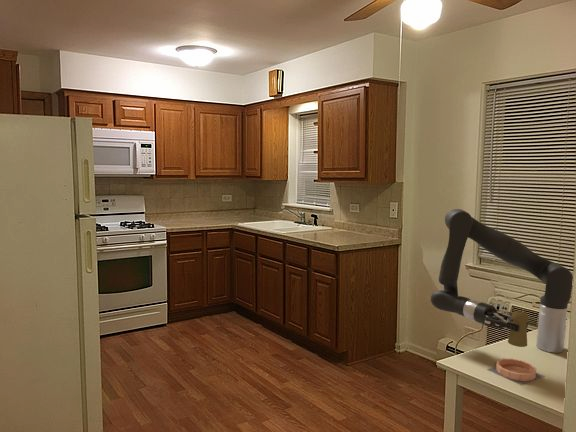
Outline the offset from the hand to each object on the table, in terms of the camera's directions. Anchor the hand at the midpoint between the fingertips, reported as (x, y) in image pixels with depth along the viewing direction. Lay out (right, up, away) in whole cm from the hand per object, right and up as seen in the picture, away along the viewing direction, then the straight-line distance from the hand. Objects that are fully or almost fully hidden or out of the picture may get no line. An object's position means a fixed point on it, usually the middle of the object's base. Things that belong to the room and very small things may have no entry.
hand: (522, 327), depth 161 cm
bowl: (-1, -16, +3) cm, 17 cm away
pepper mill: (-1, -6, +2) cm, 6 cm away
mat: (-1, -17, +3) cm, 17 cm away
